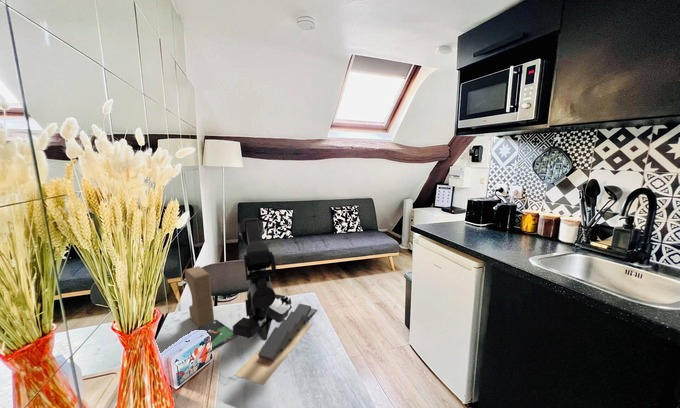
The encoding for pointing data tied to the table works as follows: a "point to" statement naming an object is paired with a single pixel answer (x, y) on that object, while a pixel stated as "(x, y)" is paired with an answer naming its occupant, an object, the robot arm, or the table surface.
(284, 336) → the domino
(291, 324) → the domino
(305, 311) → the domino
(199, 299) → the decorative block
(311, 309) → the domino
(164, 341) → the table surface
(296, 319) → the domino
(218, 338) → the disk drive
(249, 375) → the board
